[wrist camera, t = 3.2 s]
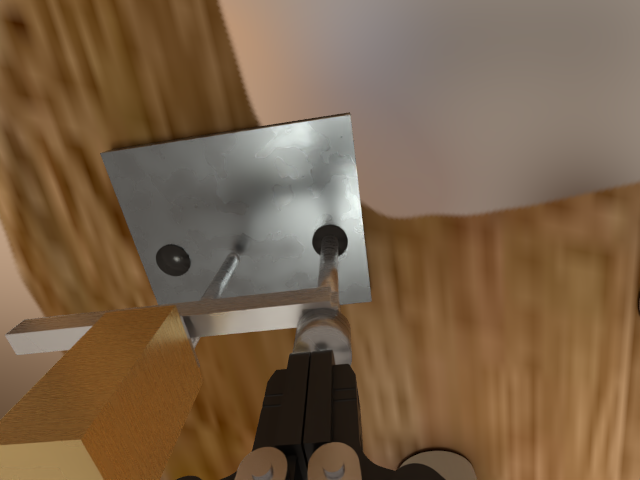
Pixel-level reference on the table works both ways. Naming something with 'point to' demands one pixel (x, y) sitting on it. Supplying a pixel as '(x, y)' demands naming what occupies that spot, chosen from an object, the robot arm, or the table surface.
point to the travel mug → (445, 464)
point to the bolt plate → (240, 233)
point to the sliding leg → (110, 399)
